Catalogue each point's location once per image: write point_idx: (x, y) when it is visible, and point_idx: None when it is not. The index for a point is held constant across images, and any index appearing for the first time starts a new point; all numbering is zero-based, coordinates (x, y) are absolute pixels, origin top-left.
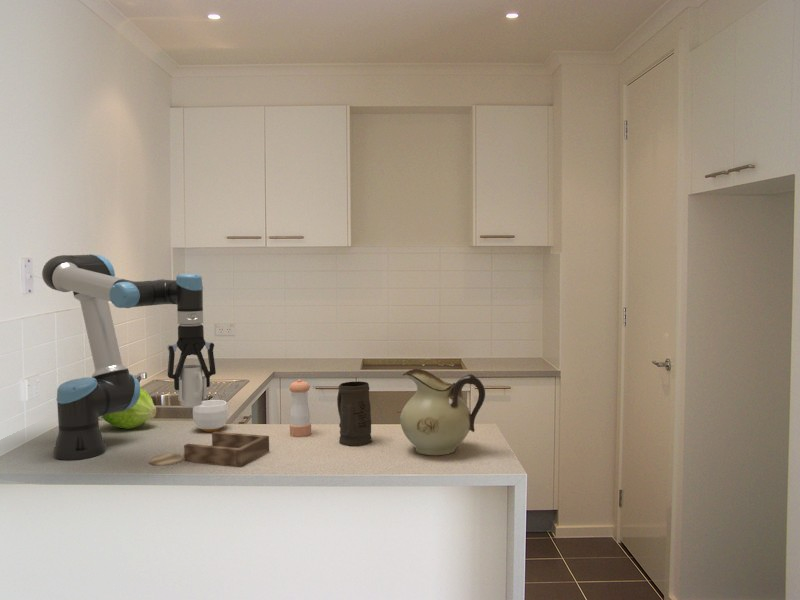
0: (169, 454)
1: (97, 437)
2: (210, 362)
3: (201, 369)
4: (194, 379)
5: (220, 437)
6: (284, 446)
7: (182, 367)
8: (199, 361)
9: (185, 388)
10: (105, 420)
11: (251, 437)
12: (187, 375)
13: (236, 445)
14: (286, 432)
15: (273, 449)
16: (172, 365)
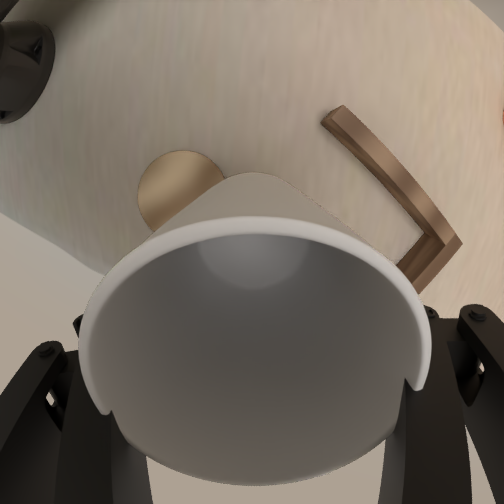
0: (190, 157)
1: (14, 80)
2: (481, 457)
3: (375, 413)
4: (275, 391)
5: (352, 142)
6: (475, 206)
7: (146, 479)
8: (393, 480)
9: (205, 333)
10: None
11: (427, 222)
12: (210, 419)
13: (384, 182)
14: (499, 87)
15: (452, 219)
16: (50, 481)
